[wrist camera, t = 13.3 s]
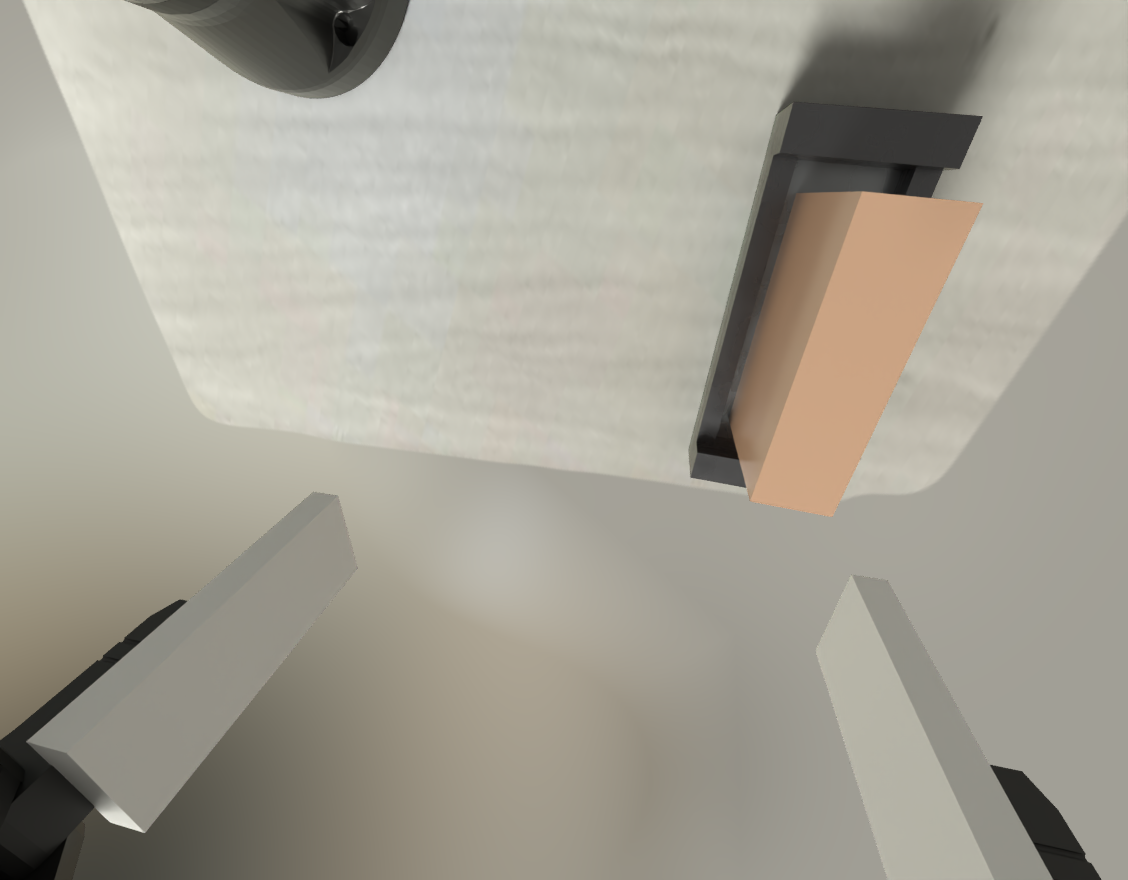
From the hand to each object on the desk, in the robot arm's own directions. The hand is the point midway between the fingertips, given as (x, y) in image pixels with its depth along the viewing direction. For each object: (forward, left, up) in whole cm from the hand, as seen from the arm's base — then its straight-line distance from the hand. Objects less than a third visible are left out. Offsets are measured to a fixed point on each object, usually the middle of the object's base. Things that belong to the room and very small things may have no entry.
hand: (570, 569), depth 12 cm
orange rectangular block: (-3, +10, -22) cm, 24 cm away
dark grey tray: (-3, +10, -23) cm, 25 cm away
